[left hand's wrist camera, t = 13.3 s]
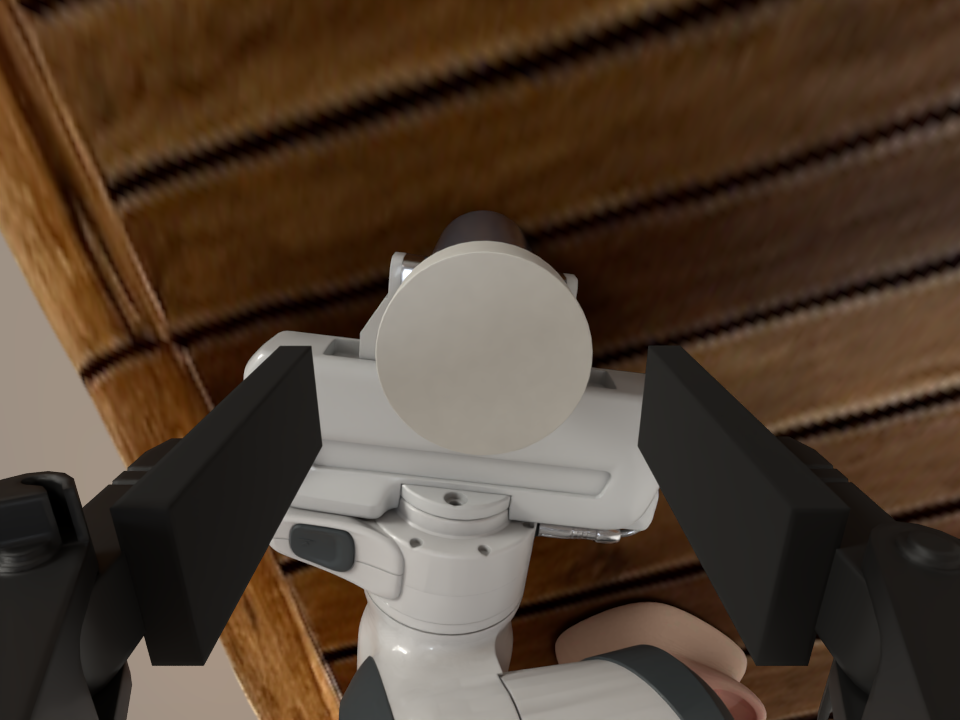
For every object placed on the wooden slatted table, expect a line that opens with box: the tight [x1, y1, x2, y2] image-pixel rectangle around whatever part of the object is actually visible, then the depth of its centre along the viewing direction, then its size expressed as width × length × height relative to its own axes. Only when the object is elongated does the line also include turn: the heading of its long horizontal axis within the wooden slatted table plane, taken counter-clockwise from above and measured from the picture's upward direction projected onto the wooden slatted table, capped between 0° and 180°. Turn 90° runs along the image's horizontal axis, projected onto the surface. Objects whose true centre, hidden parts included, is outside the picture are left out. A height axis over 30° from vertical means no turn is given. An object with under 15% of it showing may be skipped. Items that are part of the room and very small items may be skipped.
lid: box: [375, 241, 593, 455], centre depth 17 cm, size 6×6×2 cm
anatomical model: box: [555, 602, 766, 720], centre depth 39 cm, size 13×4×12 cm
